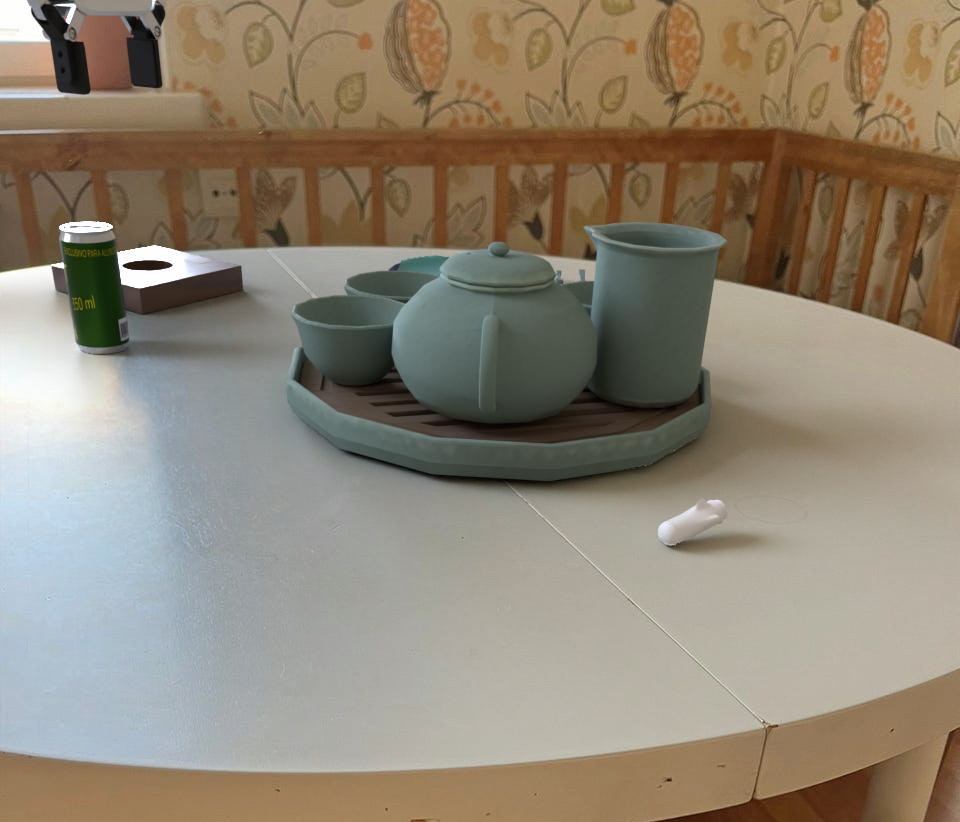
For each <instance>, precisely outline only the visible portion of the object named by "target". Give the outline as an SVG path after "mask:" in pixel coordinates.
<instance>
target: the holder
mask: <svg viewBox="0 0 960 822" xmlns="http://www.w3.org/2000/svg"><path fill="white" fill-rule="evenodd" d="M118 257H119V265H120V272H121V280H122V287H123V294H124V302H125V309H126V311H129V312H132V313H137V314H140V315H146V314H150V313H154V312H159V311H163V310H166V309H171V308H175V307H179V306H184V305H188V304H192V303H196V302H199V301H200V302H201V301H203V300H208V299H212V298H216V297H220V296H225V295H228V294H233V293H237V292H240V291H243V290H244V282H243V269H242V268H243V267H242V265H241V264H236V263H232V262H229V261H224V260H219V259H214V258H210V257H205V256H202V255H197V254H193V253H188V252H184V251H180V250H175V249H172V248H168V247H167V248H166V247H162V246H158V245H151V246H147V247H140V248H135V249H130V250H129V249H128V250H125V251H120V252H118ZM50 267H51V273H52V278H53V284H54V290H55V291H57V292H61V293H64V294H68V291H67V285H66V279H65V273H64V267H63V262H61V263H55V264H51V265H50Z"/></svg>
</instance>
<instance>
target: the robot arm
mask: <svg viewBox="0 0 960 822" xmlns="http://www.w3.org/2000/svg"><path fill="white" fill-rule="evenodd" d="M26 1H27V3H28V5H29V7H30V13H31V16H32V17H33V19H34V20H35V22H37V24H38V25H39V27H40V28H41V29H42V30H41V31H42V35H43V37H44V38H45V40H48V41H49V42H50V49H51V56H52V63H53V69H54V75H55V83H56V88H57V90H58V92H59V93H61V94H71V95H80V96H81V95H83V96H85V95H90V93H91V91H92V90H91V81H90V74H89V68H88V67H89V66H88V59H87V53H86V46H85V42H84V41H78V38H79V35H80V32H81V30H82V27H83V24H84V22H85V18H86V17H87V16H92V17H93V16H97V17H99V16H100V17H104V16H105V17H108V16H109V17H110V16H111V17H115V16H116V17H120V19H121V21H122V22H123V24H124V25H125V27H126V29H127V31H128V32H129V33H130V35H131V37H125V38H126V51H127V59H128V67H129V75H130V82H131V84H132V86H133V87H139V88H149V89H161V88H162V87H163V77H162V66H161V58H160V57H161V56H160V48H159V47H160V46H159V40H160V39H161V38H162V34H163V33H162V32H163V30H162V25H163V22H164V20H165V18H166V10H165V8H166V3H167V0H26ZM65 17H66V19H65Z"/></svg>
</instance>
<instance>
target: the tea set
mask: <svg viewBox="0 0 960 822" xmlns="http://www.w3.org/2000/svg"><path fill="white" fill-rule="evenodd" d="M582 228H583V229H584V231H585V233H586V234H587V236H588V237H589V238H590V240H591V241H592V243H593V245H594V246H593V247H594V248H595V250H596V257H595V258H596V259H595V269H594V280H585V281H580V280H578V281H573V282H567V283H566V282H565V283H563V284H561V285H559V284H558V282H559V280H558V279H557V276H556V271H555V269H554V267H553V265H552V264H551V263H550V262H549V261H548V260H546V259H545V258H544V257H541V256H539V255H538V256H537V255H535V254H532V253H529V252H526V251H519V250H513V249H510V246H509V245H508V244H507V243H505V242H503V241H494V242H491V243H490V244H489V245H488V248H484V249H482V248H481V249H472V250H466V251H462V252H458V253H455V254H453V255H450V256H448V257H449V258H448V259H447V260H446V261H445V262H444V263H443V265H442V266H441V267H440V271H441V272H442V273H441V274H440V276H437V275H434V274H430V273H422V272H413V271H388V270H375V271H369V272H361V273H357V274H354V275H352V276H350V277H348V278H345V279H344V283H343V289H344V291H345V293H346V294H334V295H326V296H320V297H319V296H318V297H313V298H312V297H311V298H309V299H306V300H303V301H302V302H299V303H296V304H294V305H293V307H292V311H291V315H290V317H291V318H292V320H293V322H294V323H295V325H296V328H297V332H298V334H299V335H298V336H299V338H300V342H301V345H298V346H296V347H295V348H294V350H293V354H292V358H291V362H290V365H289V369H288V372H287V377H286V381H285V390H286V401H287V403H288V405H289V407H290V409H291V411H292V413H293V414H294V415H295V416H297V417H298V418H299V419H301V420H302V421H303V422H305V423H306V424H307V425H308V426H309V427H311V428H312V429H313V430H314V431H316V432H317V433H319V435H321V436H322V437H323V438H325V439H326V440H327V441H328V442H330V443H331V444H332V445H333V446H335V447H336V448H337V449H340V450H343V451H347V452H351V453H354V454H358V455H362V456H365V457H369V458H373V459H375V460H376V459H377V460H380V461H384V462H386V463H390V464H393V465H398V466H401V467H405V468H409V469H412V470H415V471H419V472H422V473H425V474H426V473H427V474H429V475H440V476H456V477H471V478H472V477H473V478H475V477H476V478H489V479H491V478H492V479H509V480H523V481H524V480H525V481H540V482H552V481H557V480H565V479H573V478H577V477H585V476H591V475H599V474H605V473H612V472H618V470H619V471H625V470H631V469H630V468H632V469H636V468H635V467H639V466H640V467H639V468H642V467H641V466H645V465H646V466H645V467H648V466H647V465H649V466H651V465H652V464H651V463H653V462H655V461H656V462H658V461H659V460H658V459H660V458H662V457H663V456H665V455H667V454H669V453H670V454H672V453H674V452H675V451H674V450H676V449H677V450H679V449H681V448H682V447H681V446H683V445H684V446H686V445H687V444H686V443H688V442H690V441H691V442H693V441H694V440H693V439H695V438H697V437H698V438H700V437H702V435H703V434H704V432H705V430H706V429H707V427H708V426H709V424H710V417H711V412H712V411H711V410H712V390H711V389H712V387H711V372H710V370H709V369H707V368H705V367H704V366H702V362H703V355H704V350H705V344H706V343H705V342H706V337H707V329H708V324H709V317H710V311H711V305H712V304H711V303H712V298H713V292H714V284H715V278H716V272H717V265H718V261H719V260H718V259H719V253H720V250H721V248H723V247H724V246H725V245H727V244H728V240H727V239H725V238H724V237H723V236H722V235H721V234H720V233H717V232H713V231H710V230H706V229H702V228H698V227H694V226H687V225H680V224H672V223H662V222H661V223H660V222H643V221H634V222H614V223H613V222H612V223H607V224H600V225H598V224H597V225H584V226H583V227H582ZM699 436H700V437H699ZM698 438H697V439H698ZM692 440H693V441H692ZM695 440H696V439H695ZM691 442H690V443H691ZM685 444H686V445H685ZM688 444H689V443H688ZM684 446H683V447H684ZM680 447H681V448H680ZM678 448H679V449H678ZM677 450H676V451H677ZM673 451H674V452H673ZM671 452H672V453H671ZM670 454H669V455H670ZM667 456H668V455H667ZM665 457H666V456H665ZM663 458H664V457H663ZM663 458H662V459H663ZM657 460H658V461H657ZM660 460H661V459H660ZM656 462H655V463H656ZM650 464H651V465H650ZM653 464H654V463H653ZM624 469H625V470H624Z"/></svg>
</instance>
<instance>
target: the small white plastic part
mask: <svg viewBox="0 0 960 822" xmlns="http://www.w3.org/2000/svg"><path fill="white" fill-rule="evenodd" d="M727 516H728V509H727V506H726V505H725V503H724V502H723V501H722V500H720V499H715V500H714V499H709V500H706V499H705V498H700V499H698V501H697V502H696V504H695V505H693V506H692V507H690V508H689V509H687V510H686V511H684V512H682V513H679V514H678V515H676V516H674V517H671V518H670V519H667V520H666V521H663V522H662V523H661V524H660V525H659V527H658V529H657V536H658V538H656V539H655V540H654V541H653V542H656V541H658V540H659V541H660V542H661V541H663V542H666V543H668V544H677V543H679V544H681V543H683V542H685V541H687V540H689V539H691V538H693V537H696V536H697V535H699V534H701V533H704V532H705V531H707V530H709V529H711V528H714V527H715V526H717V525H721V524H722V523H723V522H724V520H725V519H726V518H727ZM703 531H704V532H703ZM682 541H683V542H682ZM680 542H681V543H680ZM677 545H678V544H677Z"/></svg>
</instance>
